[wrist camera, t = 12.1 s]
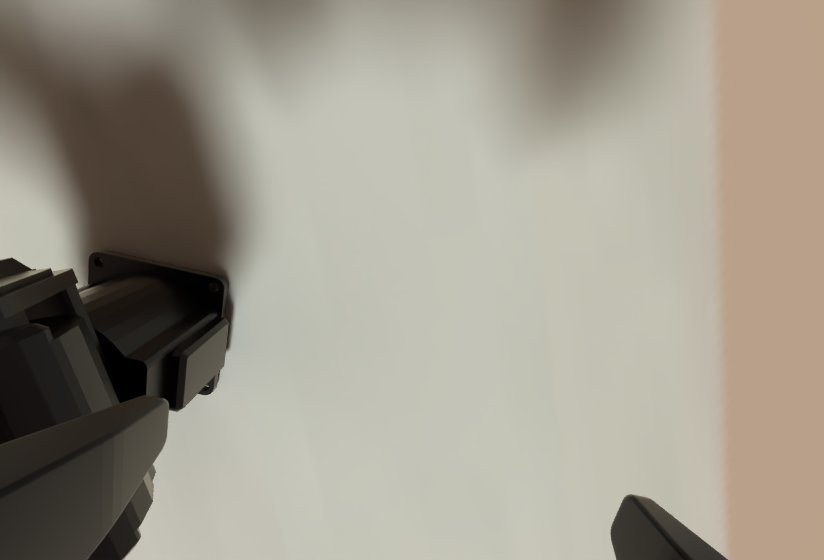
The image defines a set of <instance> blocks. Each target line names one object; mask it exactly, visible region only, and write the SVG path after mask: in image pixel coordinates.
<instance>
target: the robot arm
mask: <svg viewBox="0 0 824 560" xmlns="http://www.w3.org/2000/svg"><path fill="white" fill-rule="evenodd" d="M100 258H102V259H103V260H104V262H105V264H104V265H103V264H102V263H101V261H100ZM213 282H215V283H217V284H218V285H219V290H216V289H215V288H214V287H213ZM76 283H78V281H77V278H76V276H75V274H74V271H73V269H72V268H71V269H65V270H59V271H54V272H52V270H51V268H48V269H41V270H36V269H30V268H29V267H27V266H25V265H23V264H22V263H20V262H18V261H17V260H15V259H13V258H8V259H3V260H0V560H124V559H125V558H126V557H127V555H128V554H129V553H130V552H131V551H132V550H133V548H134V547H135V546H136V544H137V543H138V541H139V539H140V537H141V533H140V531H139V529H138V528H139V526H140V525H141V523H142V521H143V519H144V517H145V516H146V514H147V512H148V510H149V508H150V506H151V504H152V502H153V487H154V485H153V482H152V481H153V478H154V476H155V473H156V471H155V468H154V466H153V463H154V461H155V460H156V458H157V457H158V455H159V453H160V452H161V450H162V449H163V447H164V444H165V442H166V438H167V429H168V414H169V410H171V411H176V412H178V411H179V410H181V409H183V408H184V407H185V406H186V405H187V404H188V403H189V402H190V401H191V400H192V399H193V398H194V397H195V396H196V395H197V394H202V395H208V394H211V393H212V392H213V391H214V389H215V388H216V387H217V383H218V374H219V371H220V370H221V369H222V367H223V366H224V362H225V353H226V344H227V335H228V327H229V323H228V321H227V320H226V318H225V310H226V301H227V292H228V283H227V281H226V280H225V279H224V278H223V277H221V276H219V275H214V274H210V273H205V272H201V271H196V270H192V269H187V268H183V267H178V266H174V265H169V264H165V263H160V262H155V261H151V260H146V259H142V258H137V257H133V256H128V255H124V254H119V253H115V252H110V251H106V250H101V251H98V252H94V253H92V254H91V255H90V257H89V278H88V285H87V286H84V287H81V288H79V289H77V288H76V285H75V284H76ZM206 384H208V385H209V387H207V386H205V385H206ZM611 540H612V545H613V548H614V552H615V556H616V560H728V559H726V558H725V557H724V556H723V555H721V554H720V553H719V552H717V551H716V550H715V549H714V548H712V547H711V546H710V545H709V544H707V543H706V542H705V541H704V540H702V539H701V538H700V537H698V536H697V535H696V534H695V533H693V532H692V531H691V530H690V529H688V528H687V527H686V526H684V525H683V524H682V523H681V522H679V521H678V520H677V519H676V518H674V517H673V516H672V515H670V514H669V513H668V512H667V511H665V510H664V509H663V508H662V507H660V506H659V505H658V504H657V503H655V502H654V501H653V500H651V499H649V498H647V497H642V496H637V495H632V494H630V495H627V496H626V497H624V499H623V501H622V503H621V506H620V508H619V510H618V512H617V515H616V517H615V519H614V521H613V524H612V527H611Z"/></svg>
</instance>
